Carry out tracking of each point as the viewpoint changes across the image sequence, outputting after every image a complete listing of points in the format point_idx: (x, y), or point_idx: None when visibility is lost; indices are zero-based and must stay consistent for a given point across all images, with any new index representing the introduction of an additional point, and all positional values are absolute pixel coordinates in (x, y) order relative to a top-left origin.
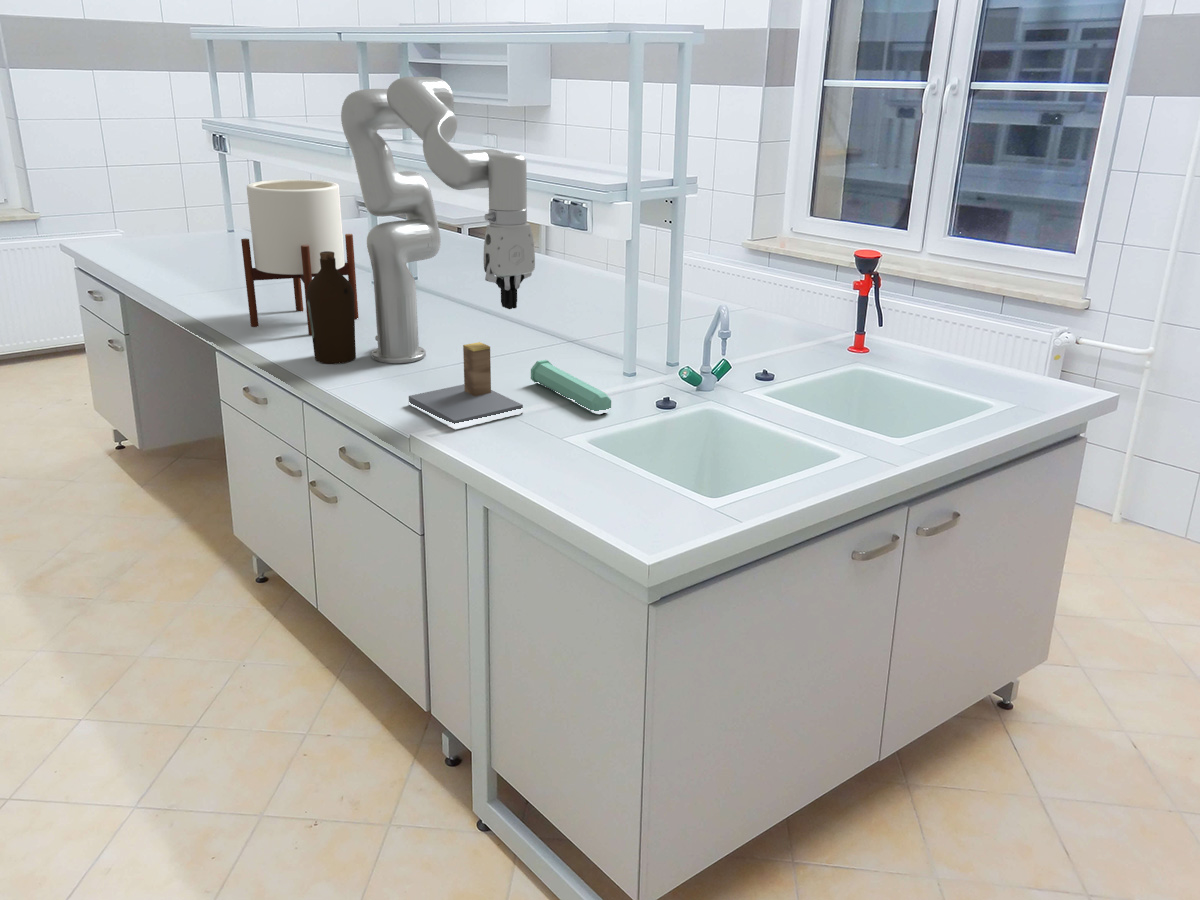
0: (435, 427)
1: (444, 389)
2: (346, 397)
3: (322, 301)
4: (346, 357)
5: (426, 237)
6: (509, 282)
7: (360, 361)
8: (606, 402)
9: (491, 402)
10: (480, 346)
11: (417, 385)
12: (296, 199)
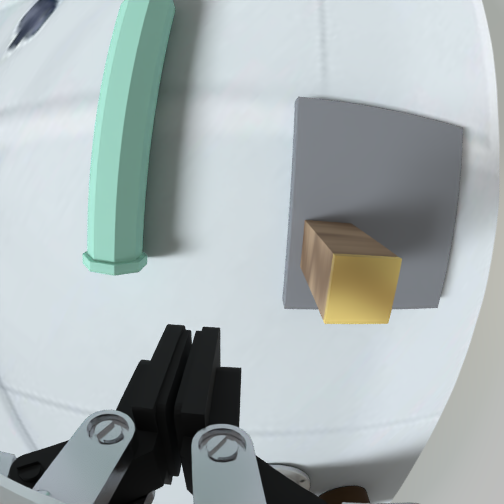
0: (465, 167)
1: None
2: (452, 379)
3: None
4: (344, 492)
5: None
6: (194, 481)
7: (325, 486)
8: None
9: (349, 159)
10: (360, 276)
11: (345, 382)
12: None
